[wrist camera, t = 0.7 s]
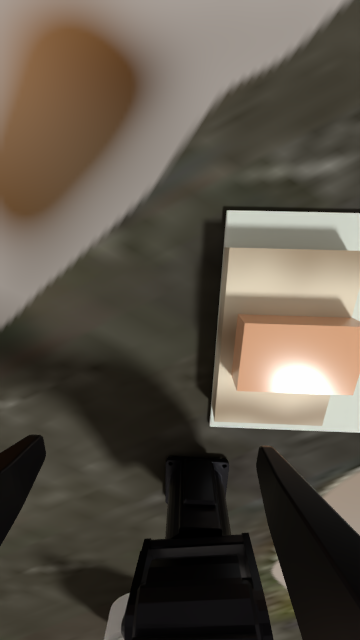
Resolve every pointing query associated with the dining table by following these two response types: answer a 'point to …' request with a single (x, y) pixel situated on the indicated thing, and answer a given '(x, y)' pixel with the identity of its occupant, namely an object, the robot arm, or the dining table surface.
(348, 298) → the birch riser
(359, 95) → the dining table surface
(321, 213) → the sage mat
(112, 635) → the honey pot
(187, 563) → the robot arm
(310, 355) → the terracotta tile
